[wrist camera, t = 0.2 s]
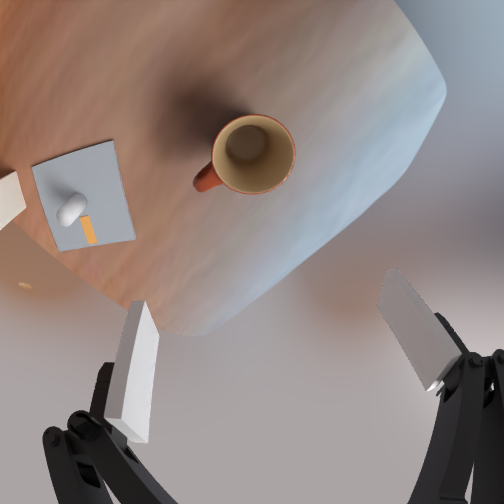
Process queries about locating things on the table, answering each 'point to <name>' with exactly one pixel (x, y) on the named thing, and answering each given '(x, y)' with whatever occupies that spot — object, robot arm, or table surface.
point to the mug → (249, 156)
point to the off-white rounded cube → (10, 198)
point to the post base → (96, 189)
